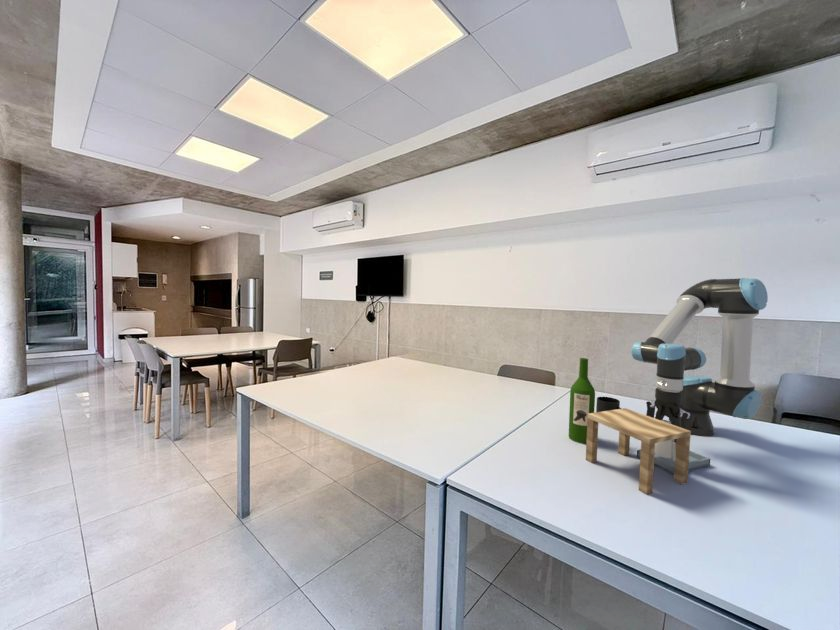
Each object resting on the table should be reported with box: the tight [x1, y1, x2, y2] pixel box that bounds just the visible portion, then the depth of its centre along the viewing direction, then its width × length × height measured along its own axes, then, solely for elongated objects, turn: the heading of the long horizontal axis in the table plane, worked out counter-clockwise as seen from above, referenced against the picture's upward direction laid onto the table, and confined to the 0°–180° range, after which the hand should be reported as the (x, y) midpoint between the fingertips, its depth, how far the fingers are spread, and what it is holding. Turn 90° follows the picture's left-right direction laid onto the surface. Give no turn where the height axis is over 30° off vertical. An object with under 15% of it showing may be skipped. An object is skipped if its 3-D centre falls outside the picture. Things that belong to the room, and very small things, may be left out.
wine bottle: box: [568, 357, 596, 444], centre depth 136 cm, size 9×9×32 cm
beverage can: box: [655, 419, 675, 459], centre depth 117 cm, size 6×6×12 cm
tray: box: [636, 448, 711, 476], centre depth 119 cm, size 18×13×2 cm
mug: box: [595, 396, 622, 413], centre depth 159 cm, size 9×12×9 cm
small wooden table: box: [585, 407, 692, 495], centre depth 112 cm, size 18×22×16 cm
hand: (665, 455), depth 118 cm, fingers closed on beverage can, 6 cm apart
